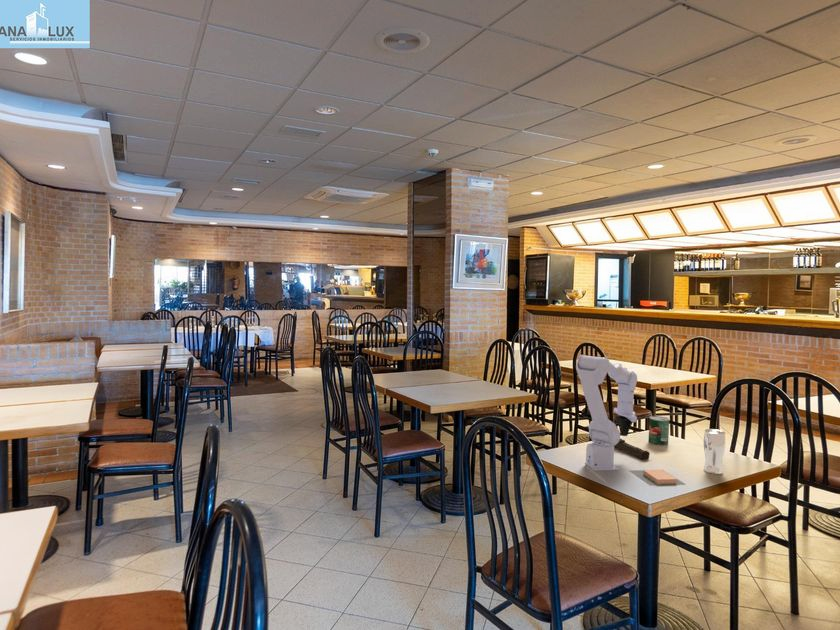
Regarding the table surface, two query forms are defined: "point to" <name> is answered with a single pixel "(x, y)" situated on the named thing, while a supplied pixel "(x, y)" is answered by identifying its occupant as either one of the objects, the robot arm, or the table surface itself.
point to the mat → (640, 474)
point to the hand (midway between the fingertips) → (624, 435)
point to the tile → (660, 476)
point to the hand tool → (632, 450)
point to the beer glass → (714, 450)
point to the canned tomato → (658, 430)
